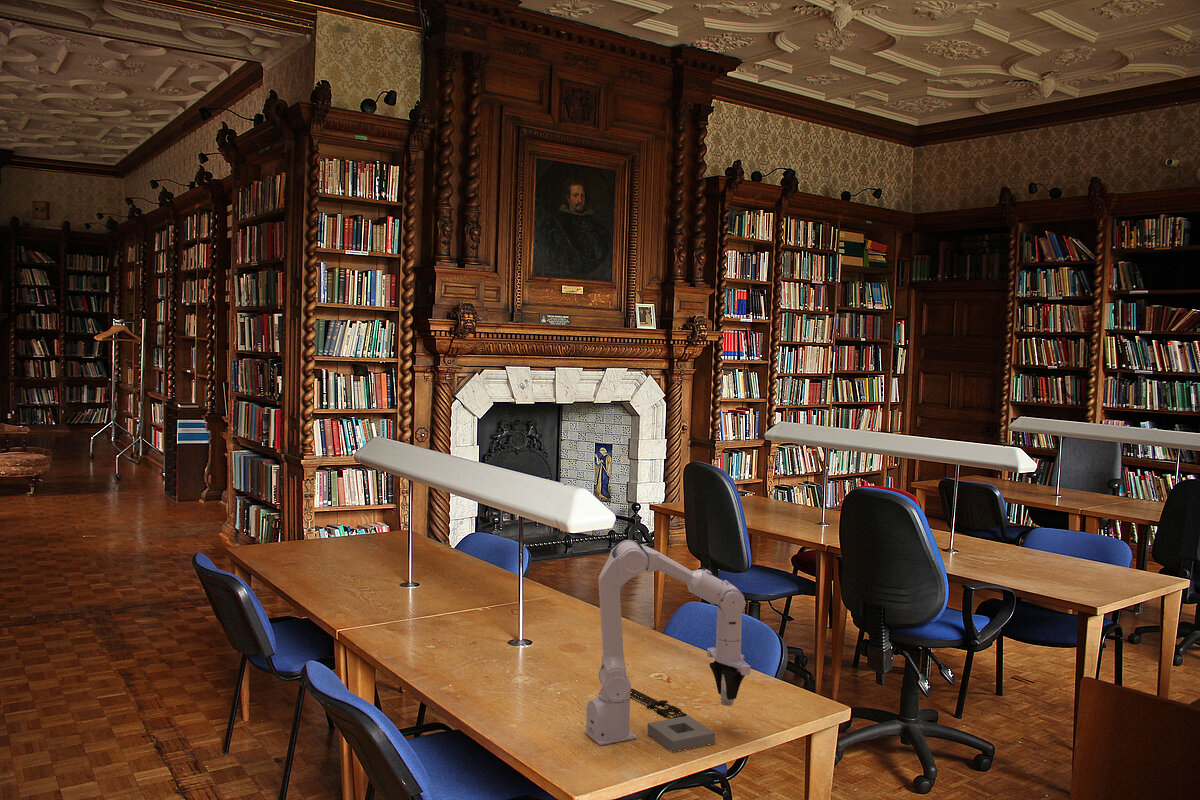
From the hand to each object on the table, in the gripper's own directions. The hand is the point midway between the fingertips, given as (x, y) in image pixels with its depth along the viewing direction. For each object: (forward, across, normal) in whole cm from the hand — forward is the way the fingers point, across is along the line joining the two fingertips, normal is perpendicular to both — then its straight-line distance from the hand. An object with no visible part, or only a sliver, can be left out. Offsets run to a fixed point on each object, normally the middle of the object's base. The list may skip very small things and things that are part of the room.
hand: (727, 696), depth 213 cm
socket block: (+8, +1, +12) cm, 14 cm away
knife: (+9, +23, +8) cm, 26 cm away
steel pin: (+2, 0, 0) cm, 2 cm away
